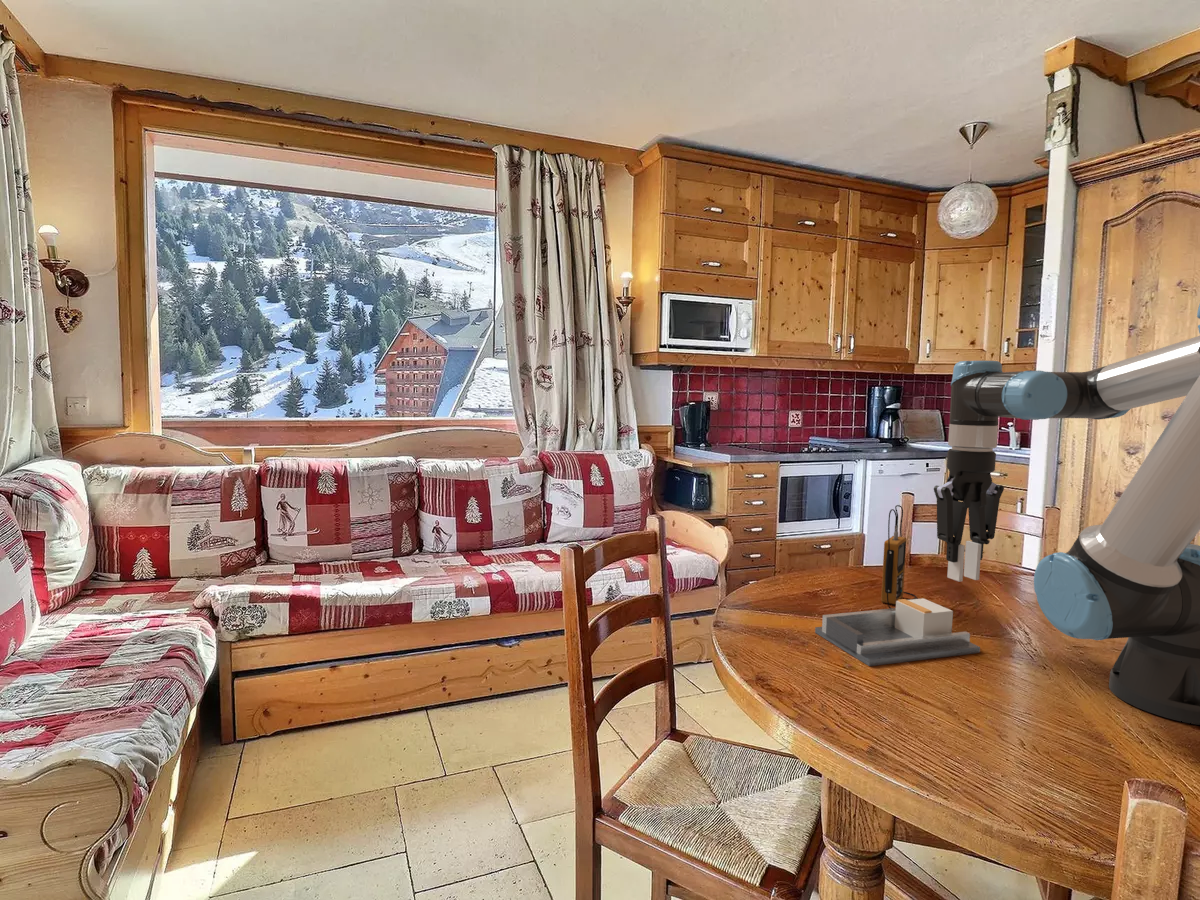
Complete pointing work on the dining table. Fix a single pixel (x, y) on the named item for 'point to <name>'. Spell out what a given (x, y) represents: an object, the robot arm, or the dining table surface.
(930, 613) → the block
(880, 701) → the dining table surface
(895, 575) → the multimeter
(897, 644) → the rail base
